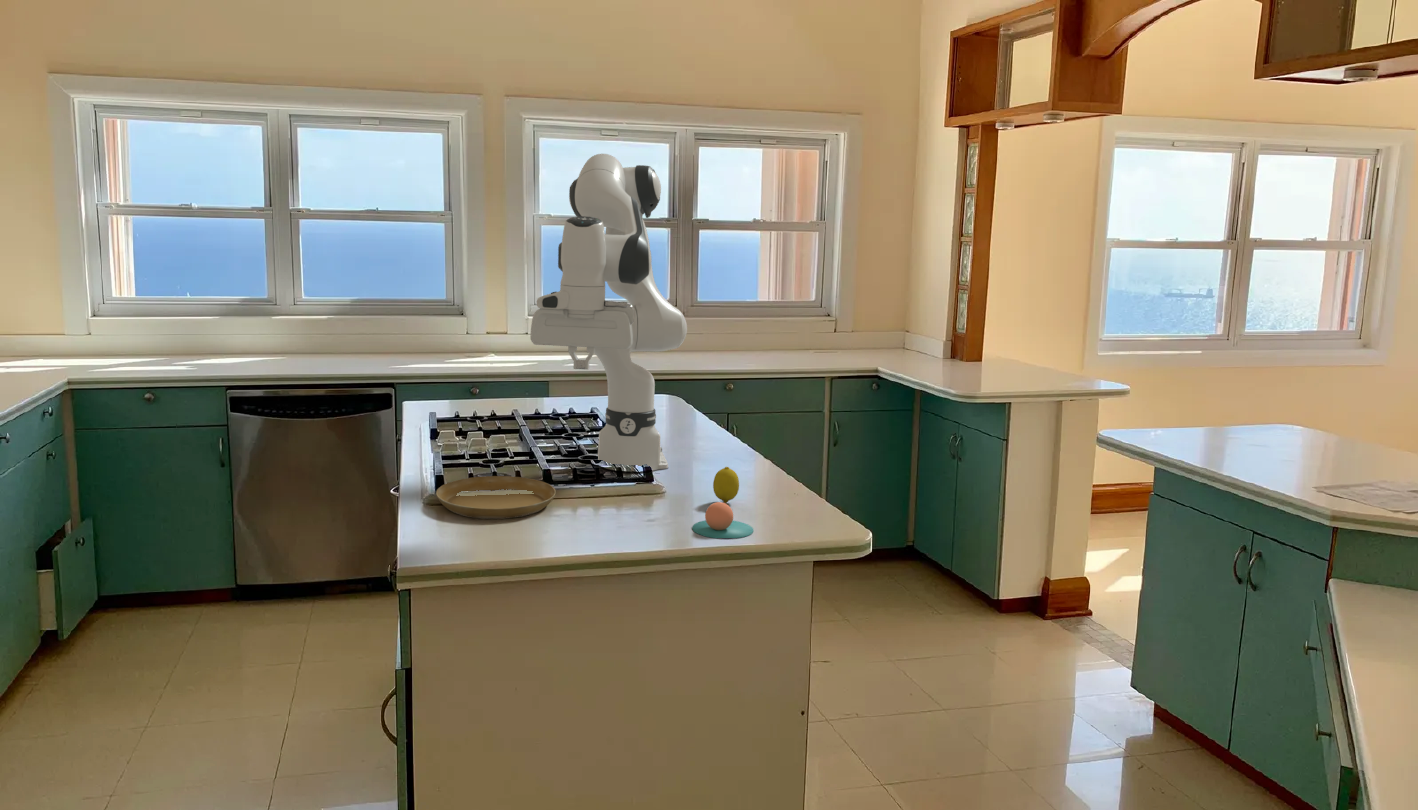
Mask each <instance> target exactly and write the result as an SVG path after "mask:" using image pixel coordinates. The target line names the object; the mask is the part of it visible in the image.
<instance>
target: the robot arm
mask: <svg viewBox="0 0 1418 810" xmlns="http://www.w3.org/2000/svg"><path fill="white" fill-rule="evenodd" d="M661 185H662V184H661V181H660V179H659V176H658V175H657V172H656V171H655V169H654V168H653V167H651V166H650V165H645V164H644V165H639V164H638V165H636V166H629V167H628V166H627V167H623V166H622V163H621V161H619V159H618V158H616V157H615V156H613V155H612V154H608V153H598V154H594V155H592V156H591V157H589V158H588V159H587V161H586V162H585V163H584V165H583V167H581V169H580V172H579V174H578V177H577V178H576V179H574V180H573V182H572V183H571V184H570V185H569V189H568V190H569V194H568V198H569V205H570V207H571V209H572V211H573V214H574V215H575V216H573V217H569V218H568V219H566V220H565V222H564V226H563V231H562V239H561V242H560V243H559V244H558V249H557V250H558V252H557V254H558V255H557V257H558V259H557V262H558V263H557V264H558V265H557V267H558V269H559V270H560V271H561V272H562V274H561V280H560V287H559V288H560V289H559V291H552V292H550V293H549V294H548V293H547V294H545V295H542V296H539V297H538V298H537V299H536V306H537V308H538V309H537V310H535V311H534V314H533V316H532V319H531V325H530V341H531V343H532V344H533V345H536V346H537V345H538V346H556V347H568V349H567V352H568V354H569V356H570V357H571V359H572V361H573V370H586V371H588V370H589V369H590V360H591V359H592V357H593V356H594V355H595V356H596V357H597V358H598V359H599V362H600V363H601V364H602V366H603V369H604V372H605V374H606V375H605V376H606V380H607V381H606V383H607V407H606V408H605V414H604V416H605V423H606V424H605V426H604V427H603V428H602V429H601V430H599V432H598V433H599V434H598V444H597V445H598V447H597V456H598V460H603V461H605V462H607V463H611V464H624V465H638V466H642V465H644V464H647V465H648V466H650V467H651V468H652V469H653V470H652V471H657V470H663V469H668V468H669V463H668V460H667V459H666V457H665V454H664V452H663V448H662V446H661V433H660V432H659V431H658V430H657V428H656V426H655V424H656V421H657V420H656V418H657V413H656V409H655V388H656V387H655V386H656V383H655V379H654V376H653V374H652V373H651V372H650V371H649V370H647V369H646V368H644V367H643V366H641V365H639V364H636V363H634V362H633V361H632V358H631V353H634V352H651V353H652V352H654V353H655V352H666V351H670V350H675V349H678V348H680V347H681V345H682V344H683V343H684V341H685V340H686V337H687V333H688V324H687V320H686V317H685V315H684V314H683V313H682V311H681V310H680V309H678V308H677V307H675V306H674V305H672V304H671V303H670V302H669V301H668V300H667V299H666V298H665V297H664V296H663V294H662V293H661V291H660V290H659V288H658V286H657V284H656V281H655V277H654V271H653V265H652V263H653V262H652V261H653V260H652V258H653V257H652V252H651V246H650V239H649V235H648V231H647V227H646V224H645V220H644V219H643V216H645V218H646V219H649V218H650V217H651V216H652V212H653V211H654V210H655V209H656V208H657V206H658V205H659V203H660V201H661V193H662V186H661ZM606 284H607V285H608V287H609V289H610V290H611V291H612V292H613V293H615V295H617V296H619V297H621V298H623V299H625V300H626V301H612V300H611V301H610V300H606ZM579 347H580V348H581V347H582V348H586V353H587V354H588V355H587V356H586V358H585V359H581V358H580V359H579V358H578V356H577V354H576V351H578V350H577V349H578V348H579Z"/></svg>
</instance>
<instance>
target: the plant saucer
mask: <svg viewBox="0 0 1418 810" xmlns="http://www.w3.org/2000/svg"><path fill="white" fill-rule="evenodd" d="M499 489H500V490H501V489H504V490H506V489H507V490H508V489H512V490H513V489H514V490H515V489H516V490H527V491H533V492H532V493H534V494H520V493H519V494H509V495H508V494H506V495H477V496H476V495H475V496H460V495H459V496H456V495H457V493H459V492H461V491H476V490H478V491H479V490H491V491H492V490H499ZM556 491H557V490H556V488H554V486H553V485H552V484H550V483H547V482H545V481H542V480H540V479H539V480H538V479H533V478H528V477H521V476H509V475H490V476H486V475H485V476H474V477H467V478H462V479H457V480H452V481H450V482H447V483H444V484H442V485H441V486H440V487H438V488H437V489H436V491H435V493H436V494H435V495H436V497H437V499H438V501H439V502H440V503H441V504H442V506H443V507H445V508H446V509H447V510H449V511H450V512H453V513H454V514H456V515H460V516H464V517H469V518H475V519H476V518H477V519H487V520H488V519H490V520H491V519H492V520H495V519H496V520H497V519H498V520H500V519H513V518H514V519H515V518H521V517H525V516H529V515H533V514H536V513H538V512H540V511H542V510H543V509H545V508H546V507H547V506H548V505H549V504H550V503H552V501H553V500H554V498H555V496H556Z"/></svg>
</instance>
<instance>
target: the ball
mask: <svg viewBox="0 0 1418 810" xmlns="http://www.w3.org/2000/svg"><path fill="white" fill-rule="evenodd" d="M704 516H705V520H706V522H707V524H708V525H709V526H710V527H711V528H712V529H714V530H724V529H726V528H728V527H729V526H730V525H731V523H732V521H734V512H733V509H732V507H730V505H728V504H727V503H724V502H723V501H722V502H721V501H718V502H714V503H712V504H709V506H708V507H707V508H706V511H705V515H704Z"/></svg>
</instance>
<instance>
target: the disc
mask: <svg viewBox="0 0 1418 810" xmlns="http://www.w3.org/2000/svg"><path fill="white" fill-rule="evenodd" d="M692 531H693V532H694V533H696V534H697V535H699V536H703V537H707V538H713V539H718V538H736V539H742V537H743V538H747V537H749V536H751V535H752V534H753V533H754V528H753V526H751V525H749V524H748V523H745V522H742V521H738V520H733V521H732V523H731V525H730V526H729V527H728V528H726V529H724V530H714V529H712V528H711V527H710V526H709V525H708V524H707V522H706V519H705V520H701V521H698V522H695V523H694V524H693V525H692Z"/></svg>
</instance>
